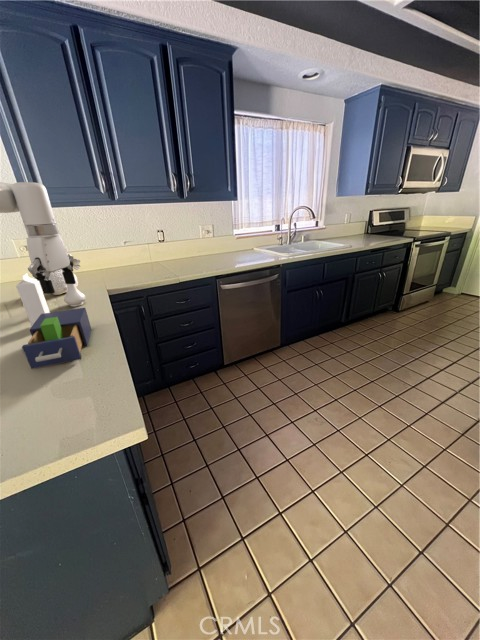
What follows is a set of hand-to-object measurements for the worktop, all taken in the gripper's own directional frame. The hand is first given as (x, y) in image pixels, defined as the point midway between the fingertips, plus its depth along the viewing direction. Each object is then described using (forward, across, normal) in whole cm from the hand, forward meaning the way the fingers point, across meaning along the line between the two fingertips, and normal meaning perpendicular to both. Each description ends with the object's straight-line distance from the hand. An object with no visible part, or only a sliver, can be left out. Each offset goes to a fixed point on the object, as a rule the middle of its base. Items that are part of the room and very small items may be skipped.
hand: (60, 288), depth 83 cm
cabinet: (+22, -6, -9) cm, 25 cm away
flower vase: (+23, -44, -31) cm, 58 cm away
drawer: (+21, +6, -3) cm, 22 cm away
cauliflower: (+23, -64, -53) cm, 86 cm away
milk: (+23, -19, -28) cm, 41 cm away
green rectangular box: (+20, +4, -4) cm, 21 cm away
